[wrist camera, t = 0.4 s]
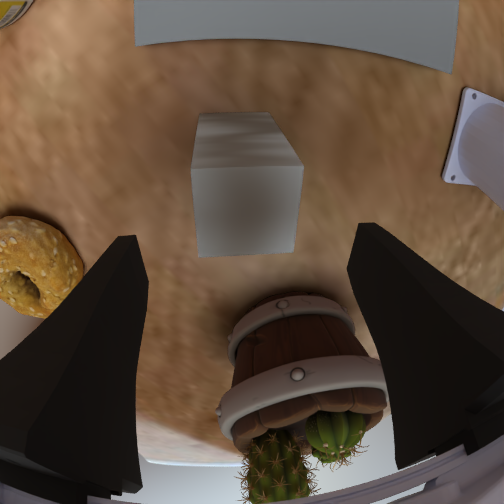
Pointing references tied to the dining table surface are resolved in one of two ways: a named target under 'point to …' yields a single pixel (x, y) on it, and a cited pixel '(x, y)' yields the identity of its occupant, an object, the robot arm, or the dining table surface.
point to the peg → (244, 185)
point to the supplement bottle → (12, 10)
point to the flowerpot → (297, 392)
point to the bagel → (36, 266)
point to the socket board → (311, 24)
